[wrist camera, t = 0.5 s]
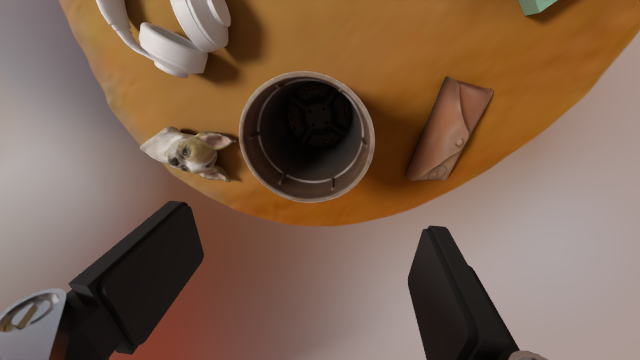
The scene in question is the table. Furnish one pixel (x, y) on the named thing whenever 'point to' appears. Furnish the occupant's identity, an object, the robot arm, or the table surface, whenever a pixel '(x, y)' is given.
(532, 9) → the green board
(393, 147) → the table surface
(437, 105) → the sunglasses case
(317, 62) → the table surface
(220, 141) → the ceramic sculpture
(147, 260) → the robot arm
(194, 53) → the headphones
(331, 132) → the plant pot
